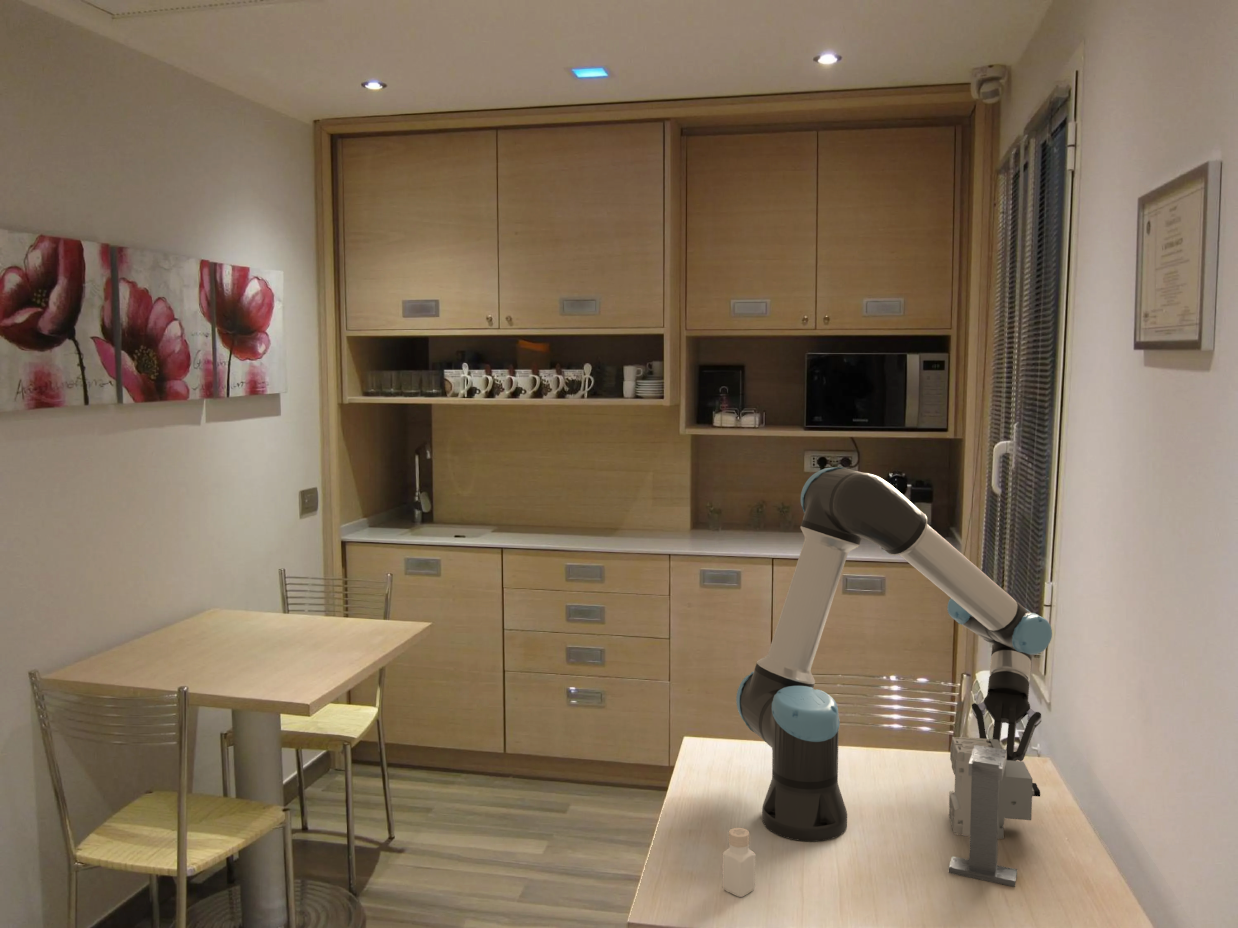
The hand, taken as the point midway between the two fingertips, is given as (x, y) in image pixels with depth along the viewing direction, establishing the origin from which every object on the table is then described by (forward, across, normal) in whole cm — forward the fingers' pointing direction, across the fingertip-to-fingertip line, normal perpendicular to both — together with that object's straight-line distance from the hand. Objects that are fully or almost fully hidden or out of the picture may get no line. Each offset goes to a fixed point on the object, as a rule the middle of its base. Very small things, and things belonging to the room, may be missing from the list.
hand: (998, 791), depth 181 cm
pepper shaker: (+36, +34, +32) cm, 59 cm away
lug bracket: (+19, 0, +15) cm, 24 cm away
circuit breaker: (+9, 0, +4) cm, 10 cm away
